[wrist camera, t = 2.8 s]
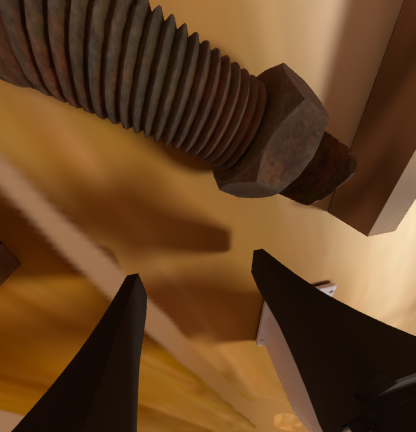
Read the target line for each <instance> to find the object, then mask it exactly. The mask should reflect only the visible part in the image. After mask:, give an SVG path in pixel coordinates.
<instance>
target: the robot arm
mask: <svg viewBox="0 0 416 432" xmlns="http://www.w3.org/2000/svg"><path fill="white" fill-rule="evenodd" d="M251 273H252V275H253V278H254V280H255V282H256V285H257V287H258V289H259V291H260V293H261V294H262V296H263V298H264V300H265V301H264V305H263V310H262V314H261V319H260V324H259V329H258V334H257V339H256V344H257V346H261V345H265V346H266V348H267V351H268V353H269V355H270V358H271V360H272V363H273V365H274V367H275V370H276V372H277V374H278V377H279V379H280V381H281V384H282V386H283V388H284V391H285V393H286V395H287V398H288V400H289V402H290V405H291V406H292V409H293V411H294V412H295V414H296V415H297V417H298V418H299V420H300V421H301V422H302V423H303V424H304V426H305V427H306V428H307V429H308V430H309V431H311V432H416V336H414V335H411V334H409V333H407V332H404V331H402V330H399V329H397V328H394V327H392V326H390V325H387V324H385V323H383V322H381V321H378V320H376V319H374V318H372V317H370V316H368V315H365V314H363V313H361V312H359V311H357V310H355V309H353V308H351V307H349V306H347V305H346V304H344V303H342V302H340V301H338V300H336V299H334V298H333V297H332V296H333V294H334V292H335V290H336V288H337V285H336V284H335V283H328V284H324V285H320V286H316V287H314V286H313V285H311V284H310V283H308V282H307V281H305V280H304V279H302V278H301V277H299V276H298V275H296V274H295V273H294V272H292V271H291V270H289V269H288V268H287V267H285V266H284V265H283V264H281V263H280V262H279V261H278V260H276V259H275V258H274V257H272V256H271V255H270V254H269V253H267V252H266V251H265V250H263V249H259V250H254V253H253V261H252V270H251ZM146 309H147V294H146V291H145V289H144V286H143V284H142V281H141V279H140V276H139V274H138V273H137V274H132V275H127V277H126V278H125V280H124V282H123V284H122V285H121V287H120V289H119V291H118V292H117V294H116V296H115V297H114V299H113V301H112V302H111V304H110V306H109V307H108V309H107V311H106V312H105V314H104V315H103V317H102V319H101V320H100V322H99V323H98V325H97V326H96V328H95V329H94V331H93V332H92V334H91V335H90V336H89V338H88V339H87V341H86V342H85V343H84V345H83V346H82V348H81V349H80V350H79V352H78V353H77V354H76V356H75V357H74V358H73V360H72V361H71V362H70V363H69V365H68V366H67V367H66V368H65V370H64V371H63V372H62V373H61V375H60V376H59V377H58V378H57V380H56V381H55V382H54V383H53V385H52V386H51V387H50V388H49V389H48V391H47V392H46V393H45V394H44V395H43V396H42V398H41V399H40V400H39V401H38V402H37V403H36V404H35V405H34V407H33V408H32V409H31V410H30V411H29V412H28V413H27V415H26V416H25V417H24V418H23V419H22V420H21V421H20V423H19V424H18V425H17V426H16V427H15V428H14V429H13V430H12V431H11V432H137V405H138V382H139V365H140V356H141V349H142V341H143V334H144V327H145V320H146Z"/></svg>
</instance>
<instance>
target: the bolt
mask: <svg viewBox="0 0 416 432" xmlns="http://www.w3.org/2000/svg"><path fill="white" fill-rule="evenodd" d="M0 79H1V80H4V81H6V82H9V83H11V84H13V85H16V86H20V87H31V88H34V89H37V90H39V91H40V92H42V93H44V94H45V95H48V96H54V98H56V99H58V100H60V101H62V102H69V104H70V105H72V106H74V107H76V108H83V110H84V111H86V112H89V113H93V114H94V113H96V115H97V116H98V117H100V118H102V119H105V118H107V117H108V118H109V120H110V121H111V122H112V123H113V124H118V123H120V122H122V125H123V128H125V129H129V128H131V127H132V126H133V127H134V131H135V133H136V134H138V133H140V132H141V131H143V130H144V133H145V137H146V138H148V137H149V136H151V135H153V136H154V140H155V142H157V141H159V140H160V139H161V138H163V142H164V145H165V146H167V145H168V144H169V143H171V142H172V146H173V149H174V150H175V149H176V148H178V147H181V151H182V153H185V152H187V151H188V150H189V154H190V156H194V155H197V158H198V159H199V160H202V159H204V160H205V162H206V163H211V164H212V165H213V174H214V178H215V180H216V183H217V185H218V187H219V190H221V191H223V192H226V193H229V194H231V195H234V196H237V197H243V198H263V197H269V196H273V195H275V194H280V195H283V196H285V197H288V198H290V199H292V200H295V201H297V202H299V203H301V204H304V205H310V204H314V203H316V202H318V201H319V200H321V199H323V198H324V197H326V196H327V195H329V194H330V193H332V192H333V191H334V190H335V189H336V188H337V187H339V186H340V185H342V184H343V183H344V182H346V181H347V180H349V179H350V178H351V177H352V176H353V175H354V173H355V172H356V168H357V161H356V157H354V158H353V154H351V153H352V151H351V150H350V149H349V148H348V147H347V146H345V145H344V144H342V143H340V142H339V141H338V140H337V139H336V138H334V137H333V136H332V135H330V134H329V133H327V132H326V131H325V128H326V125H327V123H328V120H329V117H328V114H327V111H326V110H325V108H324V106H323V104H322V103H321V101H320V100H319V99H318V97H317V96H316V94H315V93H314V92H313V91H312V89H311V88H310V87H309V86H308V84H307V83H306V82H305V81H304V80H303V79H302V78H301V77H300V76H298V75H297V74H296V73H295V72H294V71H293V70H292V69H290V68H289V67H288V66H287V65H286V64H285V63H282V64H279V65H277V66H275V67H272V68H270V69H268V70H266V71H264V72H263V73H261V74H260V75H259V76H257V77H255V76H254V75H249V73H248V71H247V70H246V69H240V66H239V64H238V63H237V62H233V63H231V64H230V57H229V56H228V55H225V56H223V57H220V50H219V49H218V48H215V49H213V50H212V51H210V42H209V41H206V40H205V41H203V42H202V43H201V44H199V35H198V33H197V32H194V33H193V34H192V35H191V36H189V37H188V31H187V25H186V24H185V23H184V24H183V25H182V26H180V27H179V28H178V29H177V27H176V23H175V18H174V15H173V14H171V15H170V16H169V17H168V18H167V19H166V20H165V21H164V17H163V12H162V7H161V6H160V5H158V6H157V7H156V8H155V9H154V10H153V11H151V7H150V3H149V0H0ZM350 154H351V155H350Z"/></svg>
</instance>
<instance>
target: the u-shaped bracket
mask: <svg viewBox="0 0 416 432" xmlns="http://www.w3.org/2000/svg"><path fill="white" fill-rule="evenodd" d="M350 150H351V151H352V153H351V154H353V158H354V157H356V161H357V168H356V172H355V173H354V175H353V176H352V177H351V178H350V179H349V180H347V181H346V182H344V183H343V184H342V185H340V186H339V187H337V188H336V191H335V193H334V196H333V199H332V201H331V204H330V207H329V210H328V213H330V214H332V215H333V216H335V217H337V218H338V219H340V220H341V221H343V222H345V223H346V224H348V225H350V226H351V227H353V228H354V229H356V230H358V231H359V232H361V233H363V234H364V235H366V236H367V237H368V236H373V235H378V234H383V233H387V232H392V231H395V230H396V228H397V227H398V225H399V224H400V222H401V221H402V219H403V218H404V216H405V215H406V213H407V212H408V210H409V208H410V207H411V205H412V204H413V202H414V201H415V199H416V0H405V2H404V4H403V7H402V10H401V13H400V15H399V18H398V21H397V23H396V26H395V29H394V32H393V34H392V37H391V40H390V43H389V45H388V48H387V51H386V54H385V56H384V59H383V62H382V65H381V67H380V70H379V73H378V76H377V78H376V81H375V84H374V86H373V89H372V92H371V95H370V97H369V100H368V103H367V106H366V108H365V111H364V114H363V117H362V119H361V122H360V125H359V128H358V130H357V133H356V136H355V138H354V141H353V144H352V147H351V149H350ZM351 154H350V155H351ZM19 266H20V264H19V263H18V262H17V260H16V259H15V258H14V257H13V256H12V255H11V254H10V253H9V252H8V250H7V249H6V248H5V247H4V246H3V245H2V244H1V243H0V286H1V285H2V284H3V282H4V281H5V280H6V279H7V278H8V277H9V276H10V275H11V274H12V273H13V272H14V271H15V270H16V269H17V268H18V267H19Z"/></svg>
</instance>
